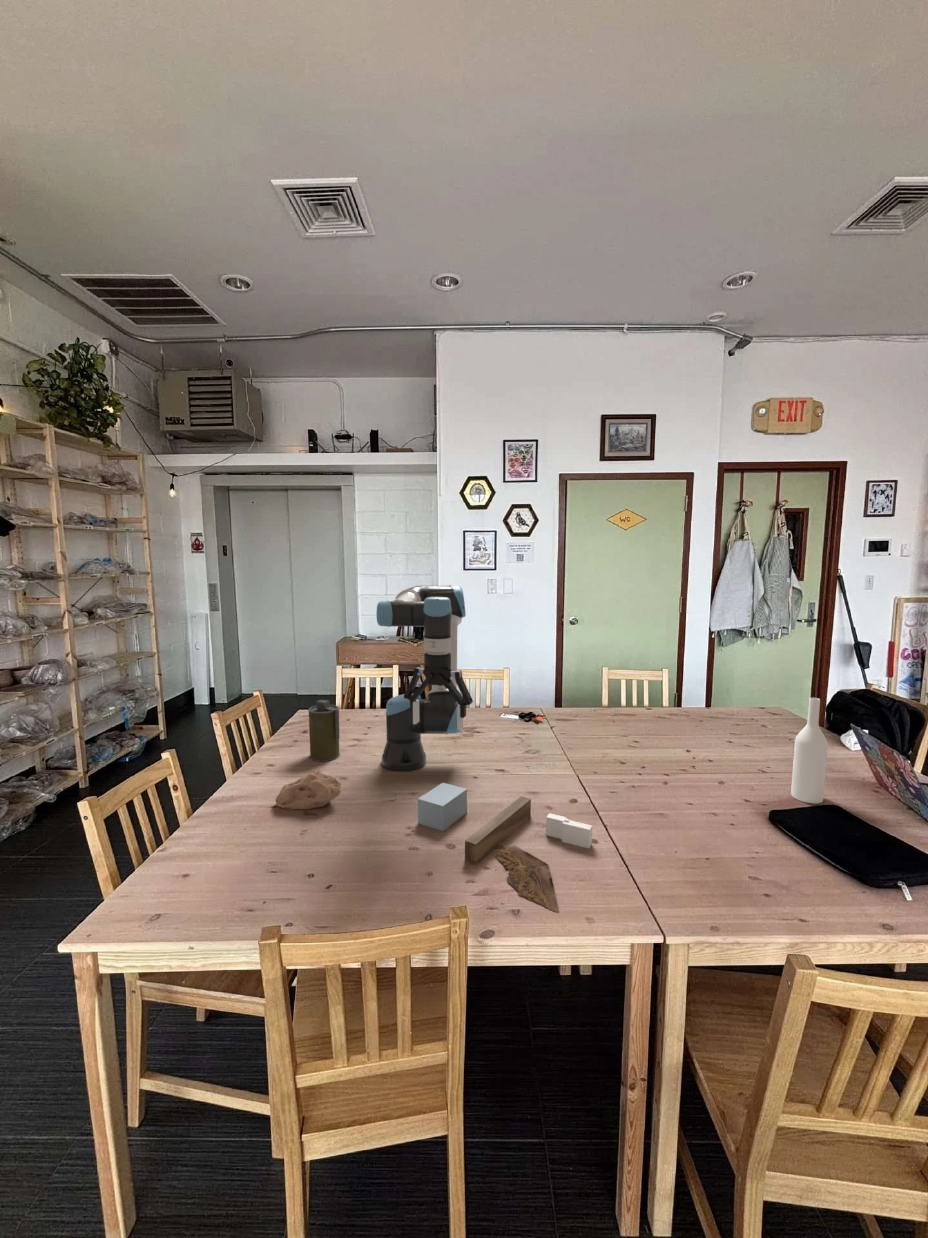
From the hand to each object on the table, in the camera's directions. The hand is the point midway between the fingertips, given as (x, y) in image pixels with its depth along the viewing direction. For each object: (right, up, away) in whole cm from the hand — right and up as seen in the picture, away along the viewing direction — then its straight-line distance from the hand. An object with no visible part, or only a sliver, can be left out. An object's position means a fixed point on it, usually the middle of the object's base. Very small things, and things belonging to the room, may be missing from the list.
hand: (437, 725), depth 154 cm
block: (+2, -24, -7) cm, 25 cm away
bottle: (+109, -23, +6) cm, 111 cm away
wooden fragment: (+22, -28, -34) cm, 49 cm away
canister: (-42, -18, +38) cm, 59 cm away
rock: (-37, -23, 0) cm, 43 cm away
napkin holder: (+34, -26, -17) cm, 46 cm away
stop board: (+17, -25, -17) cm, 34 cm away
